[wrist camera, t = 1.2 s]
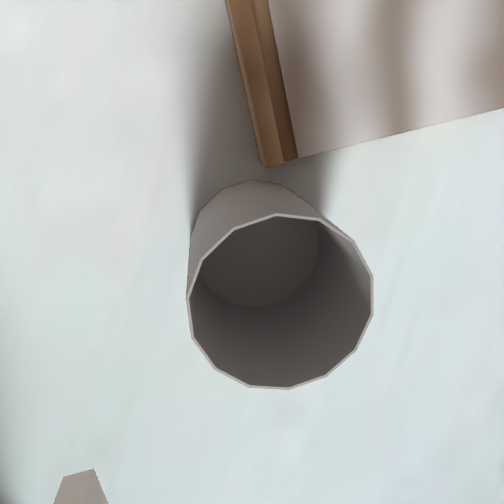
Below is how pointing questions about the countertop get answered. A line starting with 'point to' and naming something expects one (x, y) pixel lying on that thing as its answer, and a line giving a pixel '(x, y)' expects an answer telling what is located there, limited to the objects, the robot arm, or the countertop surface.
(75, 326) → the countertop surface
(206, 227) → the cup
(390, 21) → the wooden tray
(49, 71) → the countertop surface
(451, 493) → the countertop surface
